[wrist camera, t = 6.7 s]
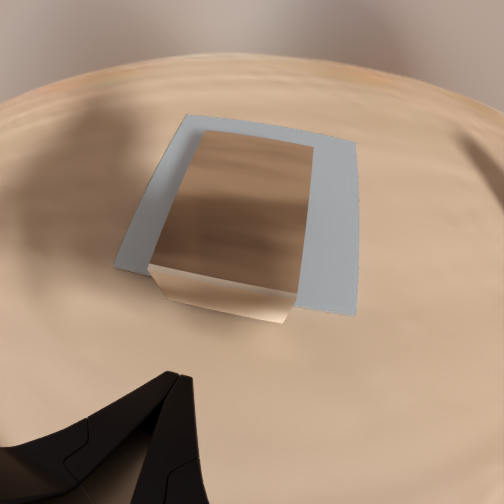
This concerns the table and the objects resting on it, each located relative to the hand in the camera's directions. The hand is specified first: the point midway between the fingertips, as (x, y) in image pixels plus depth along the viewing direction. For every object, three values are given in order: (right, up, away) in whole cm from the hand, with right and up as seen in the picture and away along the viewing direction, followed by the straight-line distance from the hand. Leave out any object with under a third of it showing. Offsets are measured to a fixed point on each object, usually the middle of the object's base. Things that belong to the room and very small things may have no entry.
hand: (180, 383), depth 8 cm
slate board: (+2, +8, +13) cm, 16 cm away
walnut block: (+1, +2, +7) cm, 7 cm away
